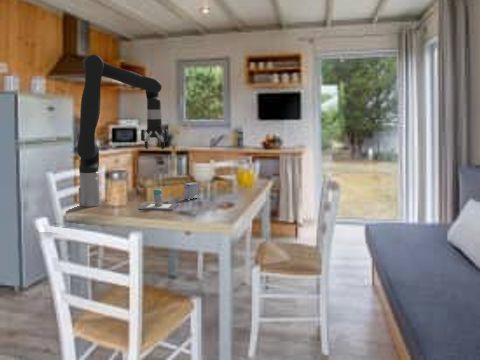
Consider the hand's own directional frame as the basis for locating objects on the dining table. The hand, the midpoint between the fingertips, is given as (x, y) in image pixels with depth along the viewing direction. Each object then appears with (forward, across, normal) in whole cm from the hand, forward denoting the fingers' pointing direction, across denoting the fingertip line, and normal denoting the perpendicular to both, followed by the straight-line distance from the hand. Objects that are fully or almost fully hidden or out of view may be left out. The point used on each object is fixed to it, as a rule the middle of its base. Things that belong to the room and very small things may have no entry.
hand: (154, 149), depth 245 cm
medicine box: (+28, +18, +8) cm, 35 cm away
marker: (+27, +6, -17) cm, 33 cm away
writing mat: (+28, +6, -17) cm, 33 cm away
